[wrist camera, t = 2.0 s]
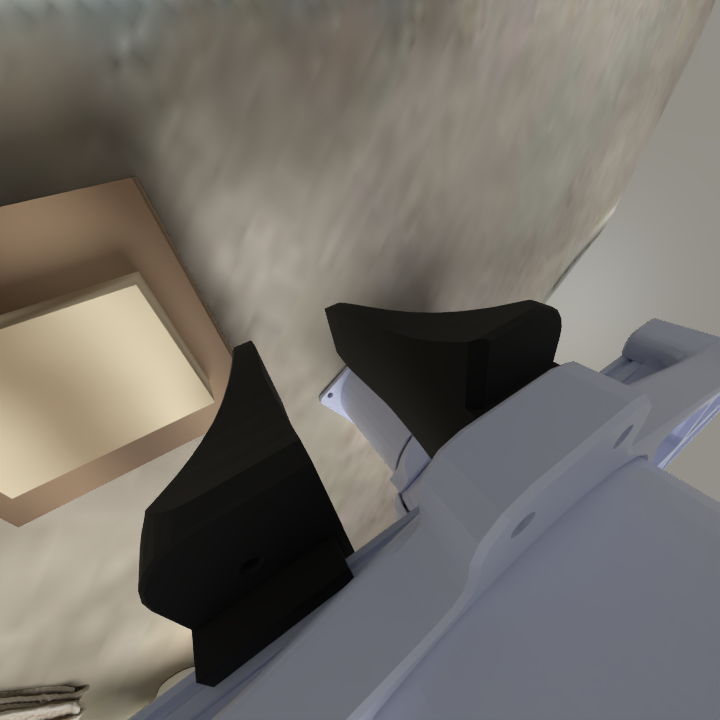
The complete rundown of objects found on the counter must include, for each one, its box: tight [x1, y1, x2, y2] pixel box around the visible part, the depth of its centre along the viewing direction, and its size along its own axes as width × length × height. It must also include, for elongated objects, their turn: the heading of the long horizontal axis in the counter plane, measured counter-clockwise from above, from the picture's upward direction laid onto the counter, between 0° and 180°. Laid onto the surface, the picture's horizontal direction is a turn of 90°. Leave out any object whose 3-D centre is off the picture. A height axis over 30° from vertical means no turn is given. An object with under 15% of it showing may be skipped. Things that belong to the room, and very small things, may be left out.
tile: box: [0, 271, 215, 499], centre depth 12 cm, size 8×6×2 cm
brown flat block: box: [0, 177, 232, 527], centre depth 14 cm, size 12×12×4 cm
